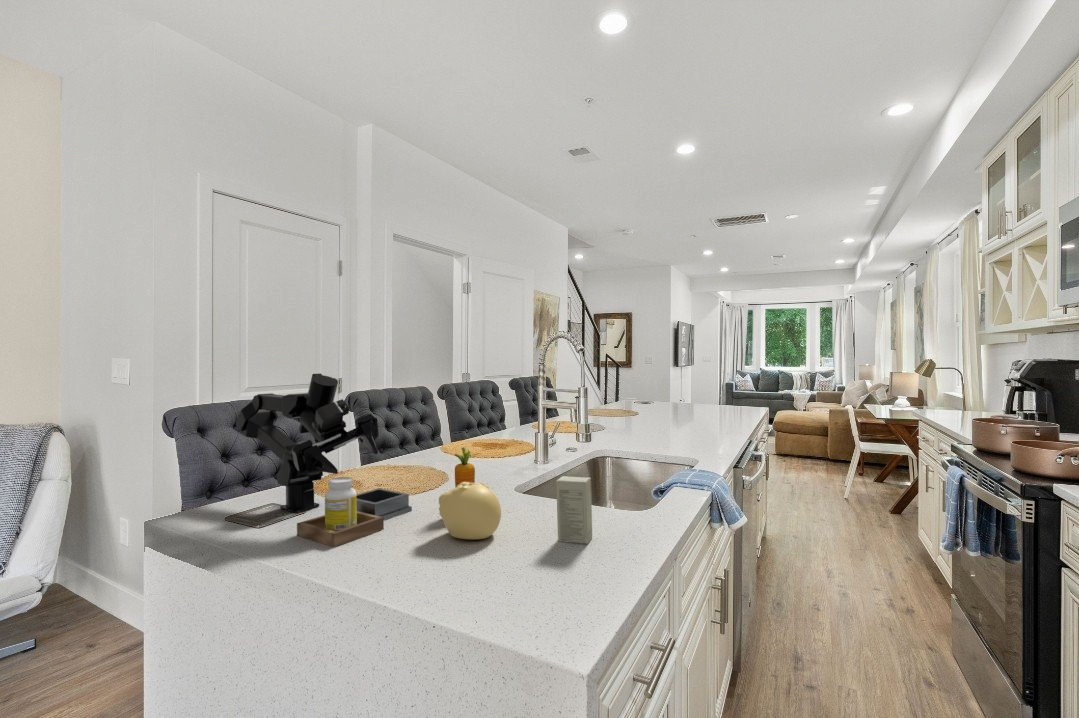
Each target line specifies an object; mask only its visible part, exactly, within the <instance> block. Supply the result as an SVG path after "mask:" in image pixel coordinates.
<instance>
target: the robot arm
mask: <svg viewBox="0 0 1079 718" xmlns="http://www.w3.org/2000/svg"><path fill="white" fill-rule="evenodd" d="M338 384H339V380H338V379H337V378H335V377H332V376H328V375H323V374H322V373H312V374H311V378H310V382H309V386H308V392H305V393H302V392H301V393H290V394H289V393H288V394H285V395H283V394H282V395H281V394H276V393H272V392H271V393H259V394H255V395H254V396H253V398H252V400H251V401H250V402H249V403H248V404H247V405H245V406H244V407H243V408H241V410H240V411H239V413H238V415H237V418H236V421H235V426H236V430H237V432H239V434H241V436H243V437H245V438H249V439H256V440H259V442H261V443H262V444H263V445H264V446H265V447H267V448H268V450H269V451H271V453H273V454H274V455H275V456H276V457H278V459H279V460H281V461H282V464H281V466H280V468H279V470H278V472H277V474H276V481H277V484H278V485H280V486H284V487H285V504H283V505H280V506H279V509H280V508H281V510H284V509H285V510H284V511H288V510H289V511H288V512H292V511H293V513H299V512H298V511H300V512H302V511H307V510H310V509H313V508H318V507H319V506H320V503H319V502H315V488H314V485H315V484H314V482H316V481H322V476H323V472H324V473H328V474H334V475H338V474H339V471H338V469H337V467H336V466H335V465H334V464H333V463H332V461H330V460H329V459H328V458H327V457H326V456H325V455H324V454H323V453H325V454H326V455H327V454H328V453H330V452H333V451H335V450H337V449H339V448H341V447H344V446H346V445H347V444H349V443H351V442H354V441H356V440H359V442H360V443H362V446H363V447H364V448H365V449H367V450H368V451H369V452H371V453H373V455H378V453H379V452H378V449H377V446H376V443H375V441H376V439H377V438H378V437H379V426H378V418H377V417H376V416H375V415H374V414H372V413H368V414H367V415H364V416H362V417H358V418H357V419H355V428H353V429H351V430H349V431H347V430H346V429H345V428H347V423H346V421H344V419H343V418H344V416H346V415H348V414H349V413H350V405H349V404H348V402H346V401H345V400H344V399H343V398H341V399H340V400H337V401H335V397H336V393H337V389H338ZM260 410H265V411H260ZM277 412H280V413H282V414H281V415H282V416H283V417H285V418H287V419H299V423H300V425H299V427H298V432H299V434H305V433H306V434H308V433H309V434H311V436H312V437H313V438H314V442H315V443H314V444H313V441H312V440H311V439H308V440H305V441H304V442H301V443H296V442H295V441H293V440H292V439H291V438H290V437H288V435H286V434H285V433H284V431H283V432H282V431H281V430H280V429H279V428H278V427H277V426H276V425H275V423H276V422H277V420H278V418H279V416H278V413H277ZM267 448H266V449H267Z"/></svg>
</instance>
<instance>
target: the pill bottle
mask: <svg viewBox="0 0 1079 718" xmlns="http://www.w3.org/2000/svg"><path fill="white" fill-rule="evenodd" d="M327 483H328V484H327V485H328V489H329V490H327V491H326V493H324V515H325V529H328V530H332V531H339V530H342V529H345V528H348V527H351V526H354V525H357V499H356V495H357V490H355V488H353V487H352V486H353V485H354V484H353V483H354V481H353V477H350V476H339V477H333V478H330V479H329V480H328V482H327Z"/></svg>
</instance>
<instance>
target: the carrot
mask: <svg viewBox="0 0 1079 718" xmlns="http://www.w3.org/2000/svg"><path fill="white" fill-rule="evenodd" d="M461 452H462V455H460V454H459V453H457V452H456V453H454V456H455V457H457V458H458V459H459V461H460V462H461V463H458V464H456V465H455V466H454V488H456V487H457V485H458V484H460V483H462V482H470V483H476V482H475V481H476V480H475V479H476V471H475V469H476V468H475V466H474V464H473V463H470V462H469V460H470V455H471V451H470V449H469V450H467V449H466V447H461ZM468 462H469V463H468Z"/></svg>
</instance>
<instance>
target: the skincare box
mask: <svg viewBox="0 0 1079 718" xmlns="http://www.w3.org/2000/svg"><path fill="white" fill-rule="evenodd" d="M555 484H556V510H557V511H556V512H557V513H556V515H557V521H556V522H557V541H558V542H562V541H566V542H565V543H572V542H578V543H577V544H583V543H588V544H589V542H590V541H591V540H592V539H593V513H592V511H593V510H592V508H593V507H592V478H591V476H590V477H586V476H585V477H584V476H568V475H565V476H564V475H562V476H561V477H559V478H558V479H556V483H555Z"/></svg>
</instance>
